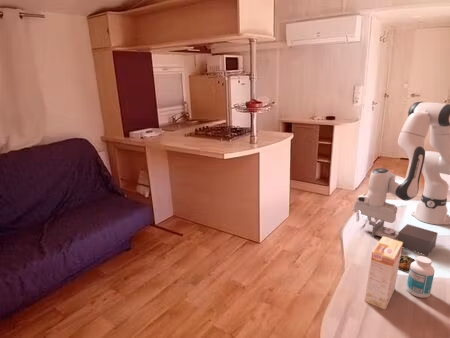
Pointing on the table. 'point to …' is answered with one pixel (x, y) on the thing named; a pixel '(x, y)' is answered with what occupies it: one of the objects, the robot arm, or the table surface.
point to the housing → (417, 239)
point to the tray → (378, 231)
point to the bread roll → (405, 263)
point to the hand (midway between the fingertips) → (372, 225)
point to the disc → (388, 231)
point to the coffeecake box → (383, 272)
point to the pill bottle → (420, 277)
